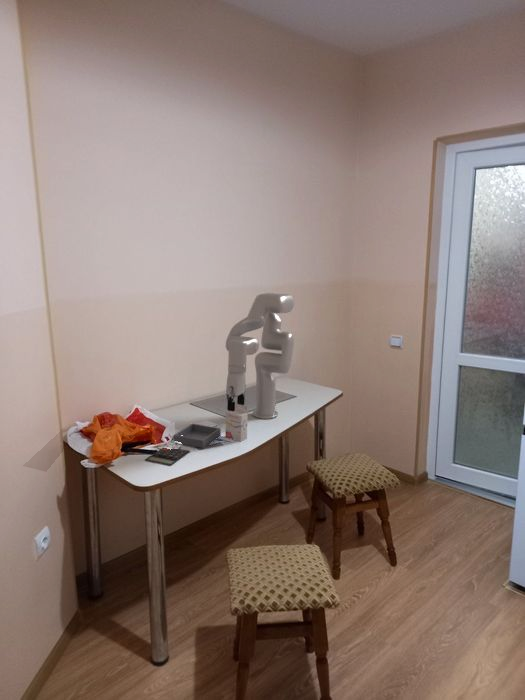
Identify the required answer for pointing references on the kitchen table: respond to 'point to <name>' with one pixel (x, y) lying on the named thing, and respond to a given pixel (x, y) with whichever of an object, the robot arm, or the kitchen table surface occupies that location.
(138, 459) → the kitchen table surface
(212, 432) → the desk tray
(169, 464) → the calculator
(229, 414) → the ink cartridge box
